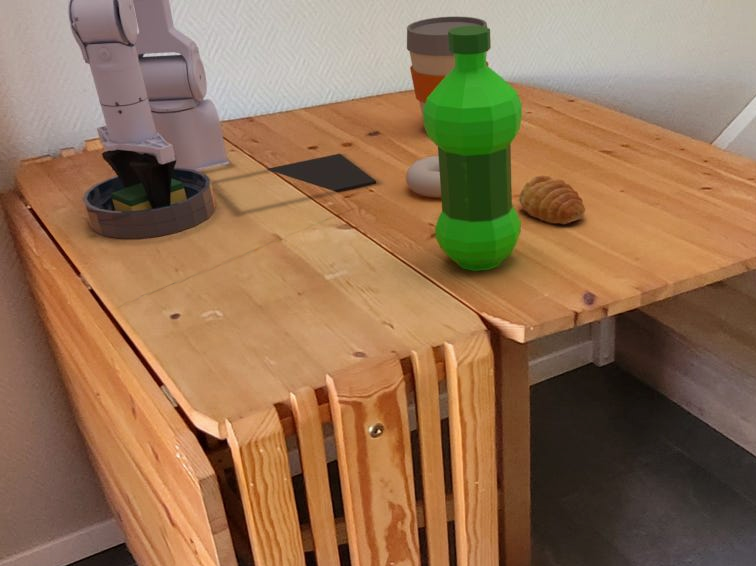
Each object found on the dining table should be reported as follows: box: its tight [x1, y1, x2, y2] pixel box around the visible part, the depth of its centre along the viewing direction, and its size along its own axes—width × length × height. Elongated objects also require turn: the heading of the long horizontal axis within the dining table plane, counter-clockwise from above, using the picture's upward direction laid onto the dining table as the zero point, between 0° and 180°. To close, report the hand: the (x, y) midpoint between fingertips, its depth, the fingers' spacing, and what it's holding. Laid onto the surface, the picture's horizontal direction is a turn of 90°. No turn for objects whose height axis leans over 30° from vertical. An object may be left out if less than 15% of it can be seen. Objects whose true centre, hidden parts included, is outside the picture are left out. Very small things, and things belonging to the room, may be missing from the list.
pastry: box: [518, 175, 586, 225], centre depth 123 cm, size 9×7×4 cm
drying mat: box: [266, 153, 377, 193], centre depth 137 cm, size 20×14×1 cm
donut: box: [405, 155, 441, 199], centre depth 132 cm, size 10×3×10 cm
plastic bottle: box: [423, 26, 523, 272], centre depth 106 cm, size 10×10×25 cm
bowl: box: [81, 168, 217, 240], centre depth 127 cm, size 16×16×4 cm
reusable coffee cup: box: [406, 15, 489, 132], centre depth 149 cm, size 13×13×15 cm
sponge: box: [111, 179, 187, 211], centre depth 127 cm, size 8×5×4 cm, turn 138°
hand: (151, 206), depth 128 cm, fingers closed on sponge, 4 cm apart
